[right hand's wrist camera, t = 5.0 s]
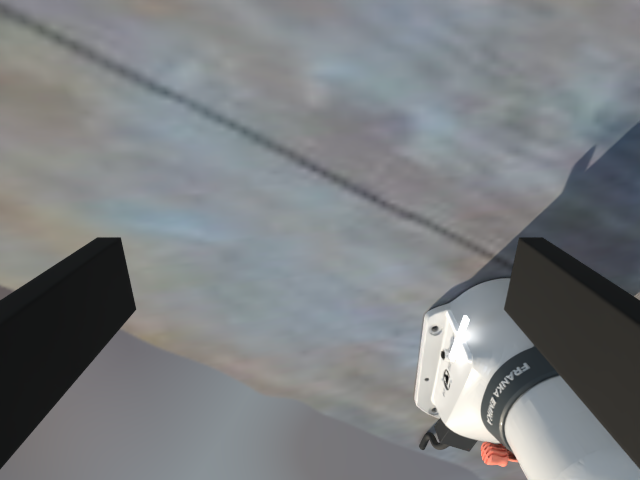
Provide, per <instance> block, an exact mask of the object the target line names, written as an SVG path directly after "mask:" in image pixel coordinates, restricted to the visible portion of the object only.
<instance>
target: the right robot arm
mask: <svg viewBox="0 0 640 480" xmlns="http://www.w3.org/2000/svg"><path fill="white" fill-rule="evenodd" d="M135 310H136V306H135V302H134V297H133V292H132V288H131V283H130V278H129V274H128V269H127V265H126V260H125V255H124V251H123V246H122V241H121V238H96V239H94V240H93V241H91V242H90V243H88V244H87V245H85V246H84V247H82V248H81V249H79V250H77V251H76V252H74V253H73V254H71V255H70V256H68V257H67V258H65V259H64V260H62V261H60V262H59V263H57V264H56V265H54V266H53V267H51V268H50V269H48V270H47V271H45V272H43V273H42V274H40V275H39V276H37V277H36V278H34V279H33V280H31V281H30V282H28V283H27V284H25V285H23V286H22V287H20V288H19V289H17V290H16V291H14V292H13V293H11V294H10V295H8V296H7V297H5V298H3V299H2V300H0V469H1V468H2V467H3V465H4V464H5V463H6V462H7V461H8V460H9V458H10V457H11V456H12V455H13V454H14V452H15V451H16V450H17V449H18V448H19V447H20V445H21V444H22V443H23V442H24V441H25V440H26V438H27V437H28V436H29V435H30V434H31V433H32V431H33V430H34V429H35V428H36V427H37V425H38V424H39V423H40V422H41V421H42V420H43V418H44V417H45V416H46V415H47V414H48V413H49V411H50V410H51V409H52V408H53V407H54V406H55V404H56V403H57V402H58V401H59V400H60V398H61V397H62V396H63V395H64V394H65V392H66V391H67V390H68V389H69V388H70V387H71V386H72V384H73V383H74V382H75V381H76V380H77V378H78V377H79V376H80V375H81V374H82V373H83V371H84V370H85V369H86V368H87V367H88V366H89V364H90V363H91V362H92V361H93V360H94V358H95V357H96V356H97V355H98V354H99V353H100V351H101V350H102V349H103V348H104V347H105V345H106V344H107V343H108V342H109V341H110V340H111V338H112V337H113V336H114V335H115V334H116V333H117V331H118V330H119V329H120V328H121V327H122V326H123V324H124V323H125V322H126V321H127V320H128V318H129V317H130V316H131V315H132V314H133V313H134V311H135ZM504 310H505V311H506V313H507V314H508V315H509V316H510V317H511V318H512V320H513V321H514V322H515V323H516V324H517V326H518V327H519V328H520V329H521V330H522V331H523V333H524V334H525V335H526V336H527V337H528V338H529V340H530V341H531V342H532V343H533V344H534V346H535V347H536V348H537V349H538V350H539V351H540V353H541V354H542V355H543V356H544V357H545V358H546V360H547V361H548V362H549V363H550V364H551V366H552V367H553V368H554V369H555V370H556V371H557V373H558V374H559V375H560V376H561V377H562V378H563V380H564V381H565V382H566V383H567V384H568V386H569V387H570V388H571V389H572V390H573V391H574V393H575V394H576V395H577V396H578V397H579V398H580V400H581V401H582V402H583V403H584V404H585V406H586V407H587V408H588V409H589V410H590V411H591V413H592V414H593V415H594V416H595V417H596V418H597V420H598V421H599V422H600V423H601V424H602V425H603V427H604V428H605V429H606V430H607V431H608V433H609V434H610V435H611V436H612V437H613V438H614V440H615V441H616V442H617V443H618V444H619V445H620V447H621V448H622V449H623V450H624V451H625V453H626V454H627V455H628V456H629V457H630V458H631V460H632V461H633V462H634V463H635V464H636V465H637V467H638V468H639V469H640V300H638V299H637V298H635V297H634V296H632V295H630V294H629V293H627V292H626V291H624V290H623V289H621V288H620V287H618V286H617V285H615V284H613V283H612V282H610V281H609V280H607V279H606V278H604V277H603V276H601V275H600V274H598V273H597V272H595V271H593V270H592V269H590V268H589V267H587V266H586V265H584V264H583V263H581V262H580V261H578V260H576V259H575V258H573V257H572V256H570V255H569V254H567V253H566V252H564V251H563V250H561V249H559V248H558V247H556V246H555V245H553V244H552V243H550V242H549V241H547V240H546V239H544V238H519V241H518V246H517V251H516V255H515V260H514V265H513V269H512V274H511V278H510V283H509V288H508V292H507V297H506V302H505V306H504Z"/></svg>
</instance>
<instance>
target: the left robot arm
mask: <svg viewBox="0 0 640 480" xmlns="http://www.w3.org/2000/svg"><path fill="white" fill-rule="evenodd" d="M509 283H510V278H502V279H495V280H490V281H487V282H484V283H481V284H478V285H476V286H474V287H472V288H470V289H469V290H467V291H465V292H464V293H463V294H461V295H460V296H459V297H457V298H456V299H455V300H453V301H452V302H450V303H448V304H445V305H442V306H439V307H436V308H434V309H431V310H430V311H428V312H427V313H426V315H425V317H424V324H423V332H422V340H421V348H420V356H419V364H418V372H417V380H416V388H415V397H414V399H415V403H416V405H417V406H418V407H419V408H420V409H421V410H423V411H424V412H426V413H427V414H429V415H431V416H434V417H436V418H439V420H438V422H437V423H436V425H435V426H434V427H435V430H436V433H437V436H438V439H439V441H440V443H438V442H437V440H436V438H435V436H434V435H433V434H432V433H426V434H425V436H424V437H423V439H422V441H421V443H420V445H419V447H420V449H422V450H424V449H425V447H426V445H427V443H428V441H429V440H430V441H431V444H432V446H433V447H434V448H435V449H438V450H443V449H445V448H447V447H449V446H452V447H456V448H459V449H462V450H466V451H470V450H471V449H472V447H473V446H474V445H475V443H476V442H477V441H478V440H480V441H486V442H483V444H482V446H481V451H482V452H481V456H482V459H483V461H484V463H486V464H487V465H500V466H502V467H505V466H506V465H507V464H508V461H514V462H518V463H519V465H520V466H521V468H522V470H523V471H524V473H525V475H526V477H527V479H528V480H640V469H639V468H638V467H637V465H636V464H635V463H634V462H633V461H632V460H631V458H630V457H629V456H628V455H627V454H626V453H625V451H624V450H623V449H622V448H621V447H620V445H619V444H618V443H617V442H616V441H615V440H614V438H613V437H612V436H611V435H610V434H609V433H608V431H607V430H606V429H605V428H604V427H603V425H602V424H601V423H600V422H599V421H598V420H597V418H596V417H595V416H594V415H593V414H592V413H591V411H590V410H589V409H588V408H587V407H586V406H585V404H584V403H583V402H582V401H581V400H580V398H579V397H578V396H577V395H576V394H575V393H574V391H573V390H572V389H571V388H570V387H569V386H568V384H567V383H566V382H565V381H564V380H563V378H562V377H561V376H560V375H559V374H558V373H557V371H556V370H555V369H554V368H553V367H552V366H551V364H550V363H549V362H548V361H547V360H546V358H545V357H544V356H543V355H542V354H541V353H540V351H539V350H538V349H537V348H536V347H535V346H534V344H533V343H532V342H531V341H530V340H529V338H528V337H527V336H526V335H525V334H524V333H523V331H522V330H521V329H520V328H519V327H518V326H517V324H516V323H515V322H514V321H513V320H512V318H511V317H510V316H509V315H508V314H507V313H506V311H505V310H504V306H505V302H506V297H507V292H508V288H509ZM433 326H436V327H435V328H432V327H433ZM490 442H495V443H501V444H493V443H490ZM506 448H507V449H506Z"/></svg>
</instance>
